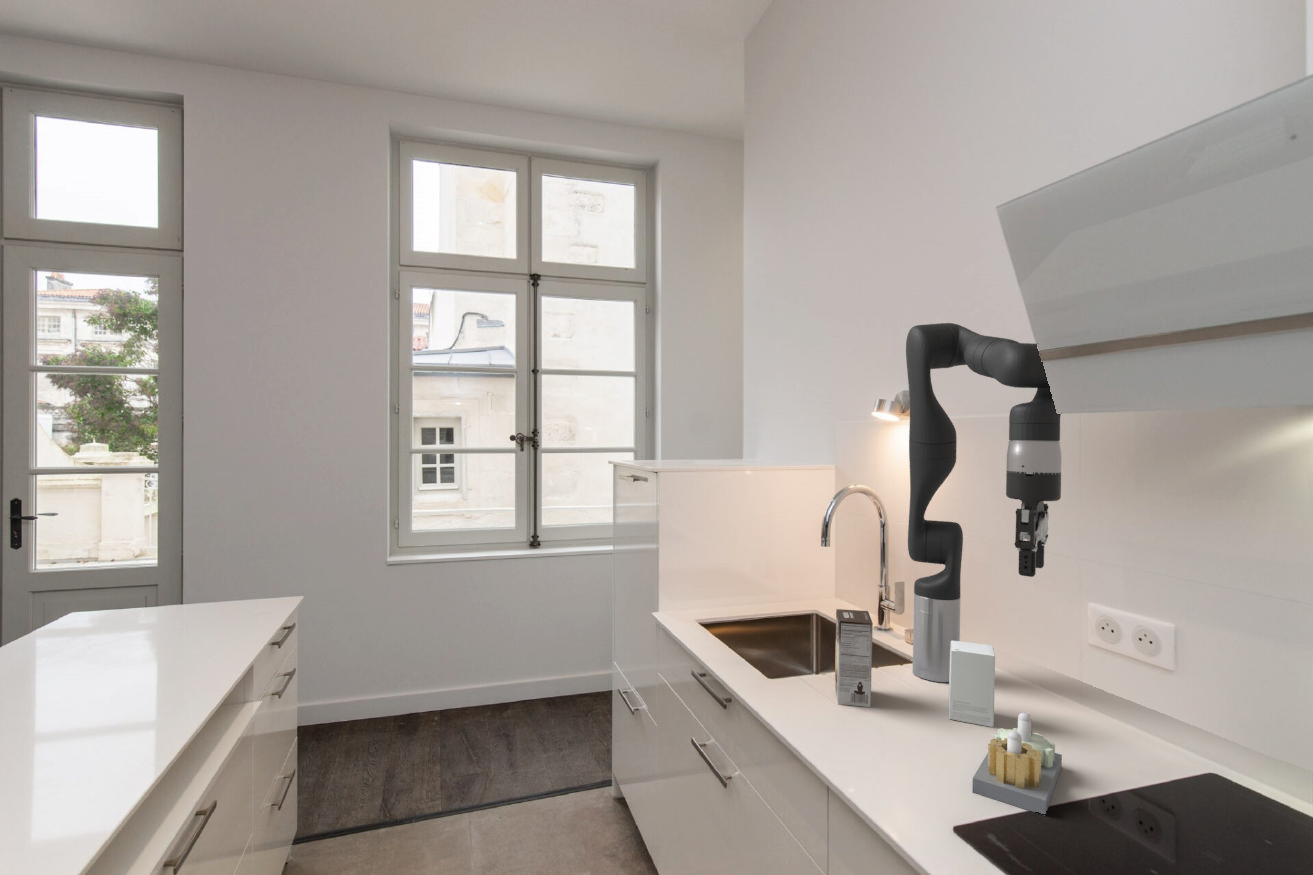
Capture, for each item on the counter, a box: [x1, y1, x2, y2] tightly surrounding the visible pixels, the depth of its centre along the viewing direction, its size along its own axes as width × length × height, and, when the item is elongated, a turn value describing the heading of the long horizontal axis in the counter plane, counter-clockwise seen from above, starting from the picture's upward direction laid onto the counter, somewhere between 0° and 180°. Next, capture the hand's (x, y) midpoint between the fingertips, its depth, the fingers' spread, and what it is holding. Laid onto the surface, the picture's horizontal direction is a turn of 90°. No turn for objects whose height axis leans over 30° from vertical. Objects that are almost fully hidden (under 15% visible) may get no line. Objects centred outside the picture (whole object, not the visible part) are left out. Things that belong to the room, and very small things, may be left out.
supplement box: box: [948, 640, 996, 728], centre depth 119 cm, size 7×7×13 cm
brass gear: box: [987, 738, 1041, 789], centre depth 93 cm, size 6×6×4 cm
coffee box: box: [834, 608, 874, 708], centre depth 127 cm, size 9×6×16 cm
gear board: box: [971, 712, 1063, 815], centre depth 96 cm, size 17×9×8 cm, turn 142°
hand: (1031, 571), depth 103 cm, fingers open, 8 cm apart
